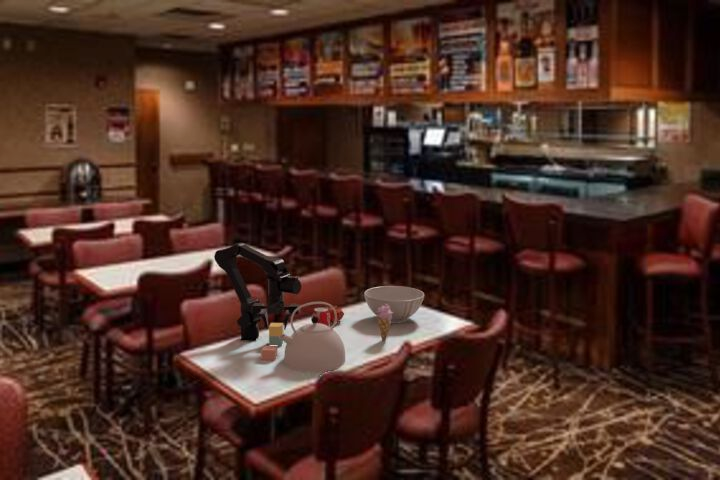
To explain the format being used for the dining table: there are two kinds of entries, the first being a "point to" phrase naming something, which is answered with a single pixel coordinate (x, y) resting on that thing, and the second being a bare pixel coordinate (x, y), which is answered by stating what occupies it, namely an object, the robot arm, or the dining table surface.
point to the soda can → (322, 315)
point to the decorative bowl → (395, 301)
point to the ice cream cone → (384, 320)
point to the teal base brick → (275, 340)
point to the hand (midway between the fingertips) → (276, 329)
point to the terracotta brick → (269, 352)
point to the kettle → (314, 345)
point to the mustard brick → (276, 329)
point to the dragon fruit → (332, 315)
